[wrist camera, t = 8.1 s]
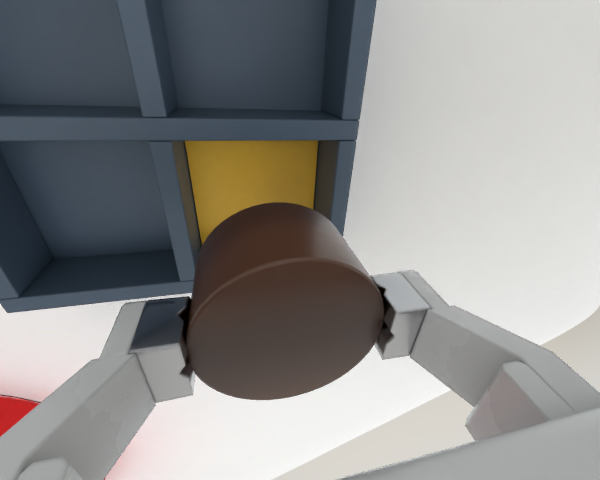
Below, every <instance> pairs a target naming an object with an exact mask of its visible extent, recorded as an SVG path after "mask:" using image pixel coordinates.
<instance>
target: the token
mask: <svg viewBox="0 0 600 480" xmlns="http://www.w3.org/2000/svg"><path fill="white" fill-rule="evenodd" d="M383 318H384V305H383V299H382V296H381V293H380V291H379V289H378V288H377V286H376V284H375V283H374V281H373V280H372V279H371V277H370V276H369V274H368V273H367V271H366V270H365V268H364V267H363V266H362V264H361V263H360V261H359V260H358V258H357V257H356V256H355V254H354V253H353V251H352V250H351V248H350V247H349V246H348V244H347V243H346V241H345V240H344V238H343V237H342V235H341V234H340V233H339V231H338V230H337V228H336V227H335V226H334V225H333V224H332V222H331V221H330V220H328V219H327V218H326V217H325V216H324V215H322V214H320V213H319V212H317V211H315V210H313V209H311V208H308V207H306V206H302V205H298V204H293V203H286V202H273V203H264V204H260V205H255V206H252V207H249V208H246V209H243V210H241V211H239V212H237V213H235V214H233V215H231V216H230V217H228V218H227V219H225V220H224V221H223V222H221V223H220V224H219V225H218V226H217V227H216V228H215V229H214V230H213V231H212V232H211V233H210V234H209V236H208V237H207V238H206V240H205V242H204V243H203V245H202V247H201V249H200V251H199V254H198V258H197V262H196V268H195V275H194V282H193V289H192V296H191V303H190V310H189V317H188V324H187V331H186V346H187V358H188V361H189V362H190V363H191V366H192V369H193V371H194V373H195V374H196V375H197V376H198V377H199V378H200V380H201V381H203V382H204V383H205V384H207V385H208V386H209V387H211V388H213V389H215V390H216V391H218V392H221V393H223V394H226V395H229V396H233V397H236V398H242V399H250V400H273V399H282V398H288V397H293V396H297V395H301V394H304V393H307V392H310V391H313V390H315V389H318V388H320V387H323V386H325V385H327V384H329V383H331V382H333V381H334V380H336V379H338V378H340V377H341V376H343V375H344V374H346V373H347V372H348V371H350V370H351V369H352V368H353V367H355V366H356V365H357V364H358V363H359V362H360V361H361V360H362V359H363V358H364V357H365V356H366V355H367V354H368V352H369V351H370V350H371V348H372V347H373V345H374V344H375V342H376V340H377V339H378V336H379V333H380V331H381V329H382V326H383V321H384V320H383Z"/></svg>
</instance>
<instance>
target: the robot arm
mask: <svg viewBox="0 0 600 480" xmlns="http://www.w3.org/2000/svg"><path fill="white" fill-rule="evenodd" d="M370 277H371V279H372V280H373V281H374V283H375V284H376V286H377V288H378V289H379V291H380V293H381V296H382V299H383V305H384V318H383V320H384V321H383V326H382V329H381V331H380V333H379V336H378V339H377V340H376V342H375V344H374V345H375V347H376V349H377V350H378V352H379V354H380V356H381V358H382V359H383V360H384V359H390V358H397V357H403V356H409V355H410V358H412V359H413V360H414V361H416V362H417V363H418V364H419V365H421V366H422V367H423V368H425V369H426V370H427V371H428V372H430V373H431V374H432V375H434V376H435V377H436V378H437V379H439V380H440V381H441V382H443V383H444V384H445V385H446V386H448V387H449V388H450V389H451V390H453V391H454V392H455V393H457V394H458V395H459V396H460V397H462V398H463V399H464V400H466V401H467V402H468V403H470V404H471V405H472V406H473V407H474V409H473V410H472V411H471V413H470V415H469V416H468V418H467V419H466V423H465V426H466V427H467V429H468V431H469V432H470V434H471V435H472V437H473V438H474V440H475V441H474V442H470V443H467V444H463V445H459V446H456V447H452V448H449V449H445V450H441V451H437V452H434V453H430V454H426V455H423V456H419V457H416V458H412V459H409V460H405V461H401V462H398V463H394V464H390V465H386V466H383V467H379V468H375V469H372V470H368V471H364V472H361V473H358V474H354V475H350V476H346V477H343V478H339V479H335V480H600V393H599V392H598V391H597V390H596V389H594V388H593V387H592V386H591V385H590V384H589V383H588V382H587V381H585V380H584V379H583V378H582V377H581V376H579V374H577V373H576V372H575V371H574V370H572V368H571V367H569V366H568V365H567V364H566V363H565V362H564V361H562V360H561V359H560V358H559V357H558V356H556V355H555V354H554V353H553V352H552V351H550V350H547V349H545V348H543V347H541V346H539V345H537V344H535V343H533V342H530V341H528V340H526V339H524V338H522V337H520V336H518V335H516V334H514V333H511V332H509V331H507V330H505V329H503V328H501V327H499V326H497V325H494V324H492V323H490V322H488V321H486V320H484V319H482V318H480V317H478V316H475V315H473V314H471V313H469V312H467V311H465V310H463V309H461V308H458V307H456V306H449V305H448V304H447V303H446V302H445V301H444V300H443V299H442V298H441V297H440V296H439V295H438V294H437V292H436V291H435V290H434V289H433V288H432V287H431V286H430V285H429V284H428V283H427V282H426V281H425V280H424V279H423V278H422V277H421V276H420V275H419V273H418V272H416V271H414V270H408V271H400V272H397V273H387V274H379V275H371V276H370ZM190 303H191V298H190V297H178V298H167V299H157V300H148V301H139V302H129V303H125V304H124V305H123V306H122V307H121V309H120V312H119V314H118V316H117V319H116V321H115V323H114V326H113V328H112V330H111V332H110V335H109V337H108V339H107V342H106V344H105V346H104V349H103V351H102V353H101V355H100V358H99V359H94V360H91V361H90V362H88V363H87V364H86V365H85V366H84V367H83V368H81V369H80V370H79V371H78V372H77V373H75V374H74V375H73V376H72V377H71V378H69V379H68V380H67V381H66V382H65V383H64V384H62V385H61V386H60V387H59V388H58V389H56V390H55V391H54V392H53V393H52V394H50V395H49V396H48V397H47V398H46V399H45V400H43V401H42V402H41V403H40V404H39V405H37V406H36V407H35V408H34V409H33V410H31V411H30V412H29V413H28V414H27V415H26V416H24V417H23V418H22V419H21V420H20V421H18V422H17V423H16V424H15V425H14V426H12V427H11V428H10V429H9V430H8V431H7V432H5V433H4V434H3V435H2V436H1V437H0V480H104V478H105V477H106V476H107V474H108V473H109V471H110V470H111V468H112V467H113V466H114V464H115V463H116V461H117V460H118V458H119V457H120V456H121V454H122V453H123V451H124V450H125V448H126V447H127V446H128V444H129V443H130V441H131V440H132V438H133V437H134V436H135V434H136V433H137V431H138V430H139V428H140V427H141V426H142V424H143V423H144V421H145V420H146V418H147V417H148V415H149V414H150V413H151V411H152V410H153V408H154V407H155V403H158V402H162V401H167V400H172V399H176V398H181V397H186V396H190V395H193V390H194V380H195V373H194V371H193V369H192V366H191V363H190V362H189V361H188V358H187V346H186V331H187V324H188V317H189V310H190Z"/></svg>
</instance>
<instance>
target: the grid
mask: <svg viewBox="0 0 600 480" xmlns="http://www.w3.org/2000/svg"><path fill="white" fill-rule="evenodd" d="M375 7H376V0H0V303H1V305H2V306H3V308H4V309H5V311H6V312H7V313H12V312H21V311H30V310H39V309H48V308H58V307H67V306H76V305H85V304H94V303H103V302H112V301H121V300H130V299H139V298H148V297H157V296H166V295H175V294H184V293H192V289H193V282H194V275H195V268H196V262H197V258H198V254H199V251H200V249H201V247H202V245H203V243H204V242H205V240H206V238H207V237H208V236H209V234H210V233H211V232H212V231H213V230H214V229H215V228H216V227H217V226H218V225H219V224H220V223H221V222H223V221H224V220H225V219H227V218H228V217H230V216H231V215H233V214H235V213H237V212H239V211H241V210H243V209H246V208H249V207H252V206H255V205H260V204H264V203H273V202H286V203H293V204H298V205H302V206H306V207H308V208H311V209H313V210H315V211H317V212H319V213H320V214H322V215H324V216H325V217H326V218H327V219H328V220H330V221H331V222H332V224H333V225H334V226H335V227H336V228H337V230H338V231H339V233H340V234H341V235H342V237H343V232H344V225H345V218H346V211H347V203H348V196H349V189H350V182H351V175H352V168H353V161H354V154H355V147H356V141H355V140H356V139H357V133H358V126H359V121H358V120H359V119H360V112H361V105H362V98H363V91H364V84H365V77H366V70H367V63H368V56H369V49H370V42H371V35H372V28H373V21H374V14H375Z"/></svg>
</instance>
